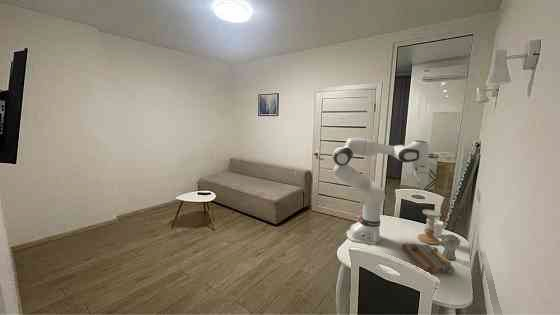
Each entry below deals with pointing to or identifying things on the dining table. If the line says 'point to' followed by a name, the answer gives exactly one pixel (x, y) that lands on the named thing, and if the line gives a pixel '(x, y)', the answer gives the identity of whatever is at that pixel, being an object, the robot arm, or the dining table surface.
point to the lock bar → (440, 257)
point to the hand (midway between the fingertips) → (420, 186)
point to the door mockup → (426, 259)
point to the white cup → (438, 228)
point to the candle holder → (430, 228)
